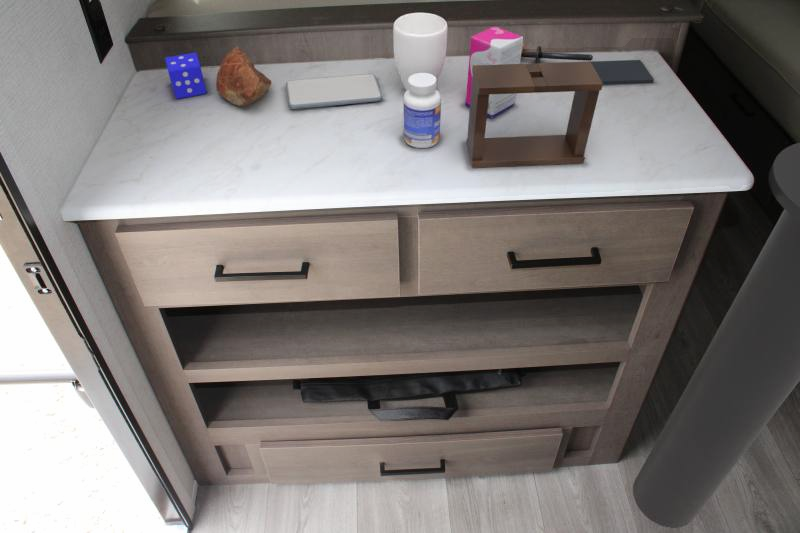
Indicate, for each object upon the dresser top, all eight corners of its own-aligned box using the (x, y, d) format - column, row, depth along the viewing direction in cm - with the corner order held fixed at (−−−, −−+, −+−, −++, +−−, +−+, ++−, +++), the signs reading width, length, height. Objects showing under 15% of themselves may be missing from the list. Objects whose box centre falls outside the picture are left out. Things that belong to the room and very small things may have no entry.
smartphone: (383, 97, 101) (288, 106, 99) (383, 102, 102) (289, 111, 100) (374, 72, 107) (285, 80, 105) (374, 77, 108) (286, 85, 105)
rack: (572, 139, 94) (590, 61, 85) (583, 163, 90) (603, 83, 81) (466, 144, 93) (472, 65, 85) (471, 168, 89) (479, 87, 80)
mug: (447, 103, 102) (451, 34, 94) (396, 105, 101) (395, 36, 93) (438, 67, 110) (440, 1, 102) (390, 69, 110) (389, 3, 101)
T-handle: (596, 53, 111) (515, 49, 116) (598, 36, 109) (515, 33, 114) (587, 79, 104) (502, 74, 109) (589, 62, 102) (501, 58, 107)
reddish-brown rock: (219, 53, 106) (233, 14, 98) (267, 70, 110) (285, 34, 102) (206, 115, 101) (220, 79, 93) (257, 131, 105) (275, 97, 97)
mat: (639, 62, 111) (640, 59, 110) (653, 82, 106) (654, 79, 105) (549, 65, 110) (549, 62, 110) (558, 86, 105) (559, 82, 105)
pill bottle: (441, 148, 93) (444, 88, 86) (404, 150, 92) (404, 90, 85) (437, 128, 96) (440, 69, 90) (402, 129, 96) (402, 70, 89)
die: (207, 94, 104) (200, 65, 100) (176, 99, 103) (168, 71, 99) (202, 79, 107) (196, 52, 104) (172, 85, 106) (164, 57, 103)
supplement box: (515, 105, 101) (525, 36, 93) (491, 119, 98) (499, 49, 90) (487, 92, 104) (494, 24, 96) (463, 105, 101) (468, 36, 93)
